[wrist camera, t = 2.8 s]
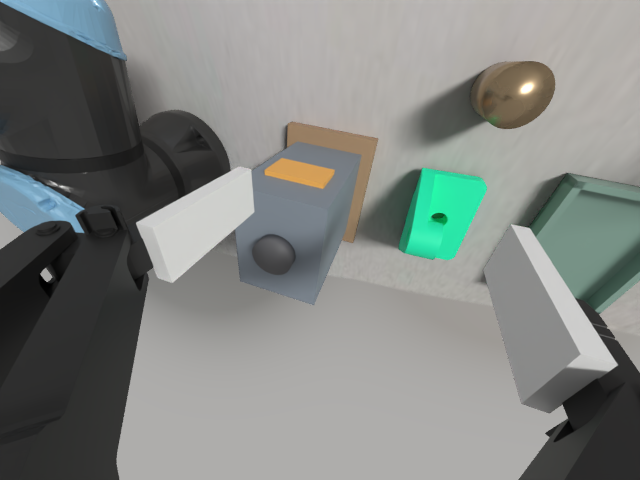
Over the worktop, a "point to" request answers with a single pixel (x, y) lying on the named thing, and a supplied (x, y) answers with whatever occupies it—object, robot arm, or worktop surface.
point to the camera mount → (440, 197)
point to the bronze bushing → (512, 93)
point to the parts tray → (592, 237)
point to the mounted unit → (304, 210)
